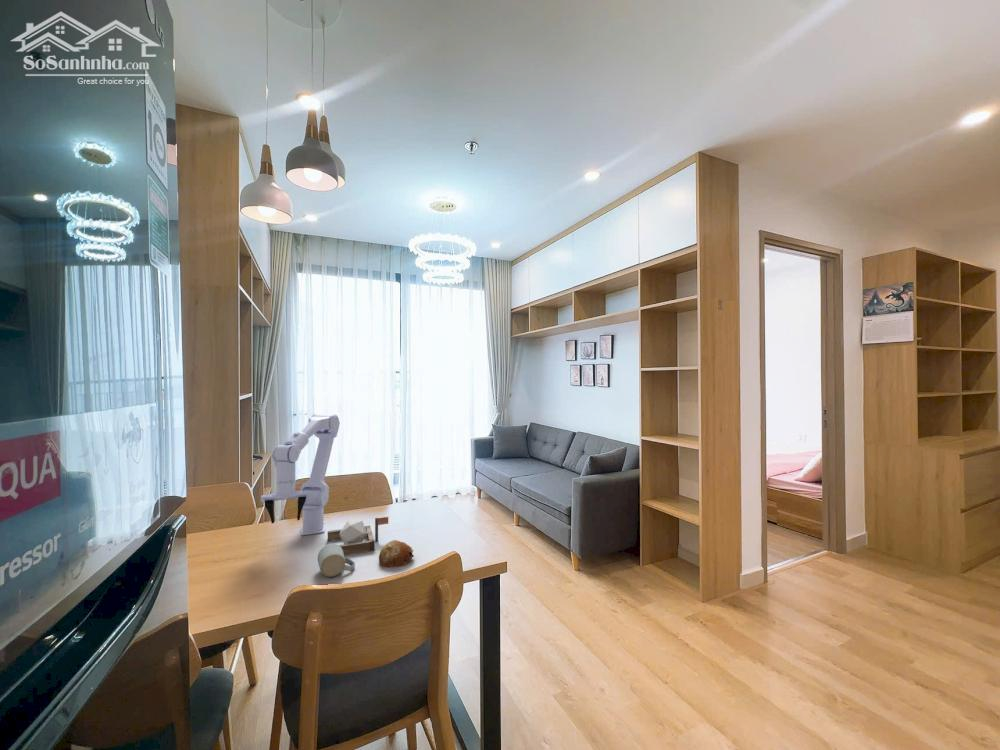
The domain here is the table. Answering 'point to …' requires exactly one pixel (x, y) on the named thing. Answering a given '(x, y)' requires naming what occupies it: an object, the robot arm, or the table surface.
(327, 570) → the ceramic mug
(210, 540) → the table surface
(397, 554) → the bread roll
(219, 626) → the table surface
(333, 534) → the wooden tray
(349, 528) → the die
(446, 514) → the table surface
